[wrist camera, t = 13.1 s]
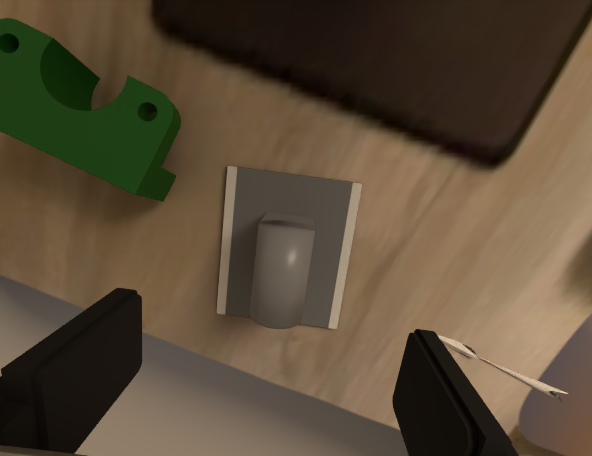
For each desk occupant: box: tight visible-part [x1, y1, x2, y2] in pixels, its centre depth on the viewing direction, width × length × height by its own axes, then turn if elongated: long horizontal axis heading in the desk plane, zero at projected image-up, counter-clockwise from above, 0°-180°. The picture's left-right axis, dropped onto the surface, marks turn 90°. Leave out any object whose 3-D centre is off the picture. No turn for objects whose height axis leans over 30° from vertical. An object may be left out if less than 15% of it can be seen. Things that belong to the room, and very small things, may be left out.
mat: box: [217, 166, 362, 329], centre depth 23 cm, size 12×10×1 cm
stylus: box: [438, 335, 566, 402], centre depth 25 cm, size 4×1×19 cm
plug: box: [250, 212, 315, 329], centre depth 20 cm, size 8×4×6 cm, turn 173°
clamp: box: [0, 18, 181, 201], centre depth 19 cm, size 12×6×9 cm, turn 57°
